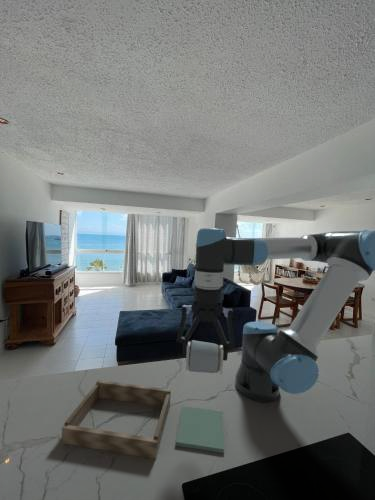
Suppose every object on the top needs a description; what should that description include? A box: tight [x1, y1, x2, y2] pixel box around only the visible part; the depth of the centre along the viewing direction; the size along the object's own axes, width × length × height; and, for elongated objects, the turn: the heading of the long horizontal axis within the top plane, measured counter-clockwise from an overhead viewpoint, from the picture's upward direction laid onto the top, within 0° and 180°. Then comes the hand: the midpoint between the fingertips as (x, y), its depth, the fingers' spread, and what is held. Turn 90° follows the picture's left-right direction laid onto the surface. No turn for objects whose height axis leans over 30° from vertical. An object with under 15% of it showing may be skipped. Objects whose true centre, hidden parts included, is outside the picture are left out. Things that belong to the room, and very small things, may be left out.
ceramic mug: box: [188, 339, 221, 374], centre depth 61 cm, size 11×8×8 cm
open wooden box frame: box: [61, 379, 172, 459], centre depth 61 cm, size 24×17×5 cm
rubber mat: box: [175, 405, 225, 454], centre depth 60 cm, size 12×12×1 cm
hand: (204, 368), depth 59 cm, fingers closed on ceramic mug, 8 cm apart
